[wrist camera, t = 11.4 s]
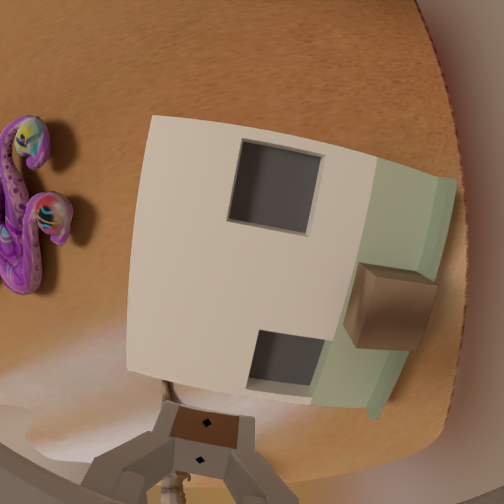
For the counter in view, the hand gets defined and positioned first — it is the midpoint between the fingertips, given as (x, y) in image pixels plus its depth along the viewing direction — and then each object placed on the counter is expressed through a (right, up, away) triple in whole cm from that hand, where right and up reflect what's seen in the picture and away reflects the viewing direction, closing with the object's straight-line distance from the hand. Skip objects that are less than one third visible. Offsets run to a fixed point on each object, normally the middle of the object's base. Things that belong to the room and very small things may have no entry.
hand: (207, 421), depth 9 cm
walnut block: (+13, +1, +17) cm, 22 cm away
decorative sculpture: (-30, +11, +20) cm, 37 cm away
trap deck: (+4, +3, +20) cm, 21 cm away
